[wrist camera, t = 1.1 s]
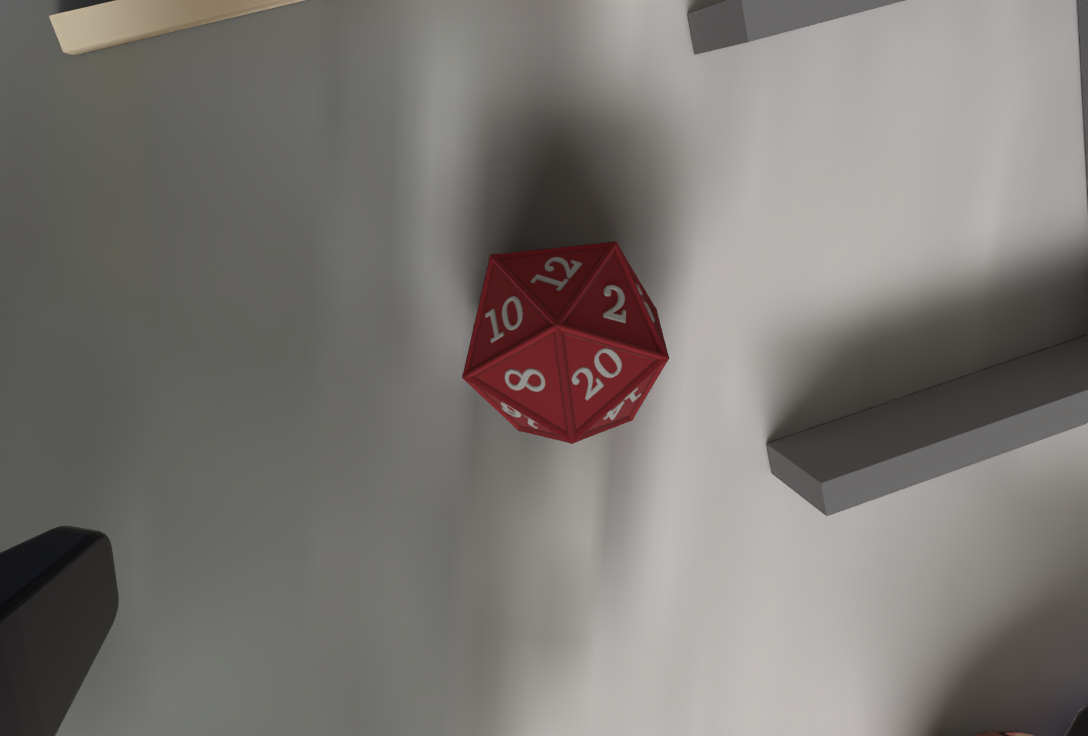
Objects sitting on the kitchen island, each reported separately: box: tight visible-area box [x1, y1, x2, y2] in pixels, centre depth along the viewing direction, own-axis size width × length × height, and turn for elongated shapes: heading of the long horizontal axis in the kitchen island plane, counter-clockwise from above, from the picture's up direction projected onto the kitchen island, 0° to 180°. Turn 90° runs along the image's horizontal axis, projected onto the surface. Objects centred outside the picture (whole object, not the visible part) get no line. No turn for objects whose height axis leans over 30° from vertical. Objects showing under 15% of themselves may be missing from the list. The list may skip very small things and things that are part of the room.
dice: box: [462, 242, 669, 444], centre depth 17 cm, size 4×4×4 cm
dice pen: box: [687, 0, 1088, 516], centre depth 19 cm, size 10×11×2 cm
